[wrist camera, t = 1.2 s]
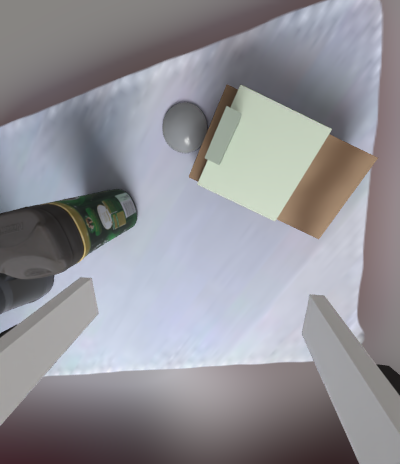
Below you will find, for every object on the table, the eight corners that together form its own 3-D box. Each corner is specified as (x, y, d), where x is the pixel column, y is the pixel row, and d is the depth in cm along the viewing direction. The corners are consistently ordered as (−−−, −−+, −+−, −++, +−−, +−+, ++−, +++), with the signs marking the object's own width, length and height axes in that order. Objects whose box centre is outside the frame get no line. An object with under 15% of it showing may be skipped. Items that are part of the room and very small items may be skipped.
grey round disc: (157, 141, 32) (156, 141, 32) (172, 95, 30) (172, 94, 29) (196, 160, 32) (195, 160, 32) (214, 115, 30) (214, 114, 29)
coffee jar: (99, 236, 39) (-4, 292, 21) (83, 196, 37) (-47, 223, 19) (144, 226, 37) (70, 279, 20) (130, 184, 35) (32, 201, 17)
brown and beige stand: (196, 174, 33) (188, 177, 26) (226, 104, 29) (226, 84, 22) (299, 223, 33) (318, 239, 26) (341, 160, 29) (378, 158, 22)
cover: (197, 184, 26) (191, 187, 21) (240, 86, 22) (243, 66, 17) (274, 220, 26) (283, 231, 21) (329, 130, 22) (354, 121, 18)
